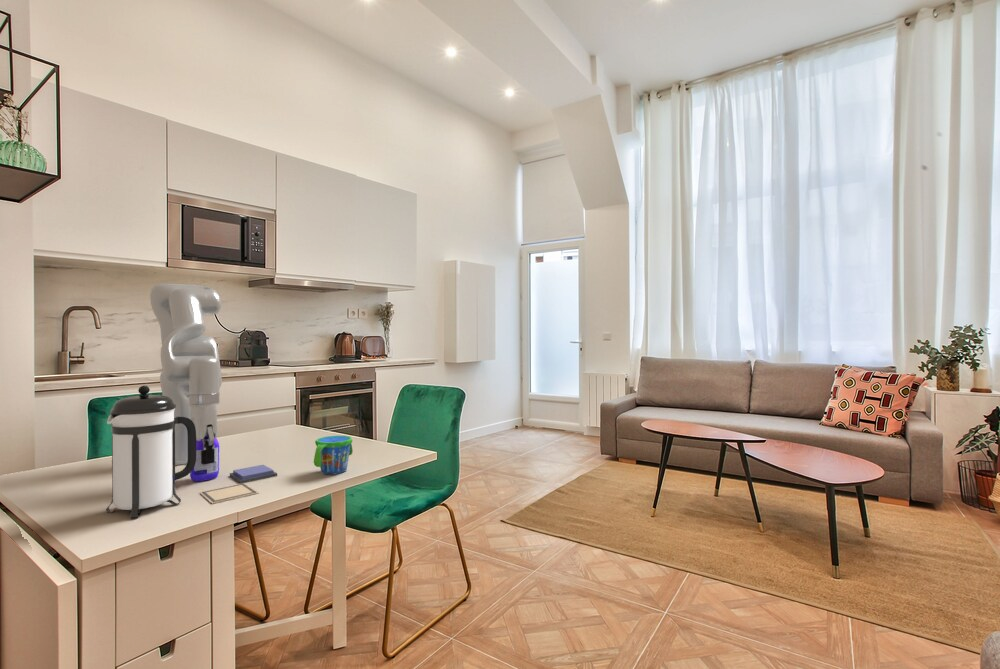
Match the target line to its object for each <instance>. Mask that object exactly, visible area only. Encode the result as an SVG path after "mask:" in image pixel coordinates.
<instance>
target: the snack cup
mask: <svg viewBox="0 0 1000 669" xmlns="http://www.w3.org/2000/svg"><path fill="white" fill-rule="evenodd" d="M314 443H315V446H316V448H315V452H314V456H313V464H314V466H315V467H317V468H320V472H321V473H322V474H325V475H337V474H341V473H344V472H345V471H347V469H348V463H349V459H350V458H349V457H350V456H351V455H352V454H353V445H352V443H353V437H351V436H349V435H348V436H347V435H328V436H327V435H326V436H322V437H318V438H316V439H315V441H314Z"/></svg>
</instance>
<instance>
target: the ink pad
mask: <svg viewBox="0 0 1000 669" xmlns="http://www.w3.org/2000/svg"><path fill="white" fill-rule="evenodd" d="M277 476H278V473H277V472H276V471H275V470H274V469H272V468H270V467H269V466H267V465H265V464H259V465H253V466H248V467H244V468H238V469H234V470H233V471H232V472H229V477H230V478H232V479H234V480H235V481H236V480H237V482H238V483H239V484H243V483H245V484H246V483H250V482H254V481H259V480H263V479H269V478H274V477H277Z"/></svg>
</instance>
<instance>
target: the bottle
mask: <svg viewBox="0 0 1000 669" xmlns="http://www.w3.org/2000/svg"><path fill="white" fill-rule="evenodd" d="M213 434H214V433H213ZM214 436H215V435H214ZM204 439H208V437H204ZM206 442H208V441H206ZM206 442H205V445H206ZM201 450H203V448H202V439H201V440H200V441H197V440H196V463H195V466H194V468H193V470H192V471H191V472H190V473H189V477H190V479H191V480H192V481H193V482H202V481H203V482H205V481H209V480H214V479H216V478H217V477H218V475H219V473H220V472H219V471H220V443H219V440H218V438H217V437H216V438H215V441H214V463H209V464H204V465H203V464H201Z"/></svg>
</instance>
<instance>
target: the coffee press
mask: <svg viewBox="0 0 1000 669" xmlns="http://www.w3.org/2000/svg"><path fill="white" fill-rule="evenodd" d="M137 391H138V393H139V395H135V396H128V397H124V398H120V399H119V400H117V401H115V403H114V404H113V406H112V408H111V409H110V413H109V416H108V418H107V421H106V424H107V425H111V428H110V429H111V430H110V431H111V452H112V453H111V470H112V472H111V473H112V474H111V477H112V478H111V480H112V481H111V484H112V485H111V486H112V490H111V491H112V492H111V494H112V495H111V497H112V498H111V502H110V504H108V506H107V507H106V509H105V511H106V512H107V513H108V514H112V513H113V512H114V511H116V509H119V510H123V511H124V510H126V511H130V514H129V515H130V519H131V520H133V519H139V517H140V514H141V511H142V510H144V509H148V508H153V507H157V506H159V505H162V504H164V503H170V504H171V505H173V506H175V505H176V506H179V505H180V504H181V501H182V499H181V497H179V496H178V495H177V492H176V481H177V480H180V479H183V478H185V477H187V476H188V475H190V472H191V471H192V470H193V468H194V466H195V463H196V428H195V425H194V423H193V421H192V420H190V419H189V418H186V417H176V418H174V410H175V408H176V404H174V403H173V401H172V399H171V398H169V397H167V396H163V395H162V394H160V395H159V394H149V392H150V391H151V389H150V387H149V386H148V385H141V386H140V387H139V388H138V389H137ZM181 423H182V424H184V425H185V426H186V428H187V433H188V461H187V464H185V466H184V468H183V469H182V470H180V471H178V472H176V465H175V424H181ZM173 497H174V498H175V500H177V501H178V503H177V502H175V501H174V500H172V498H173ZM112 504H113V506H114V507H115V508H114V509H113V510H112V509H110V507H111V505H112Z"/></svg>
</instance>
